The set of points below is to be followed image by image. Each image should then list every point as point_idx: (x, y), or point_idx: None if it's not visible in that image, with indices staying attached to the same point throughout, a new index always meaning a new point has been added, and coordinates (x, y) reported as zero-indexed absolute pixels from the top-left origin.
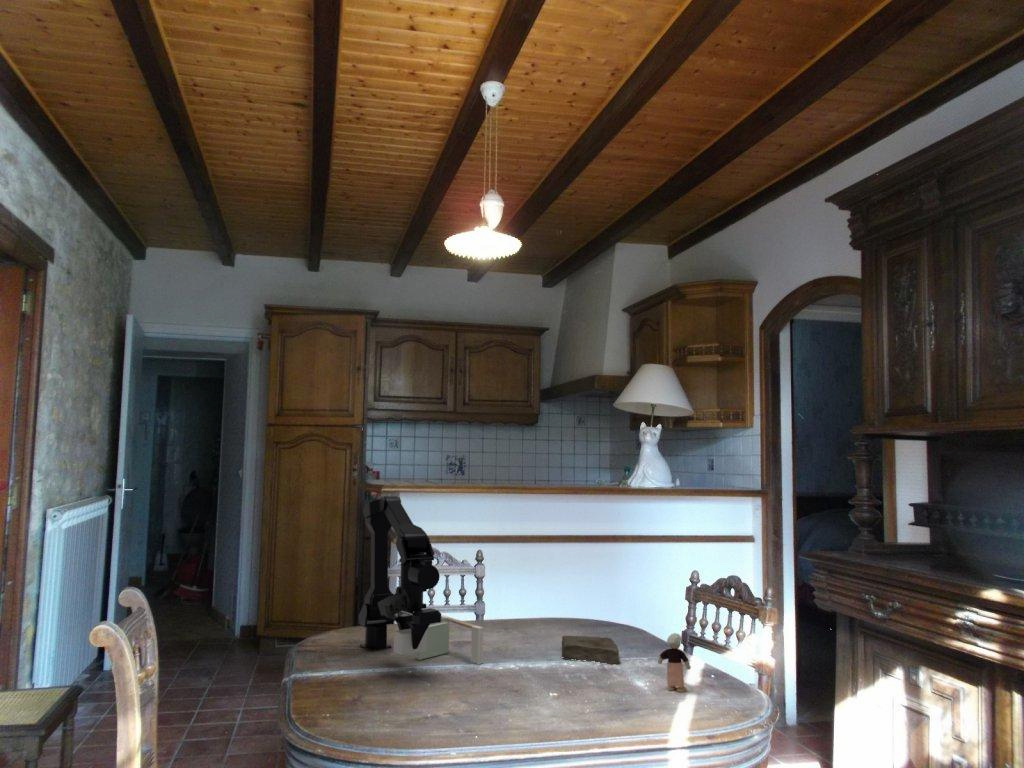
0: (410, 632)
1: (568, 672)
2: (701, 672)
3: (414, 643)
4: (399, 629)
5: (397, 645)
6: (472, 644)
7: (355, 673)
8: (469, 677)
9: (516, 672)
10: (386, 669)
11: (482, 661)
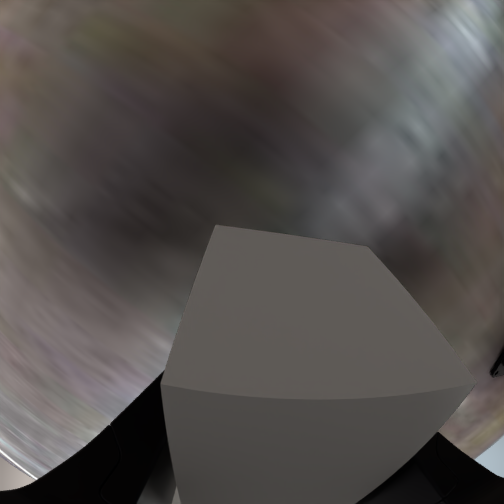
0: (203, 480)
1: (40, 447)
2: (21, 469)
3: (158, 381)
4: (447, 447)
5: (319, 269)
6: (178, 495)
7: (417, 38)
8: (44, 352)
9: (57, 427)
10: (369, 193)
11: None
